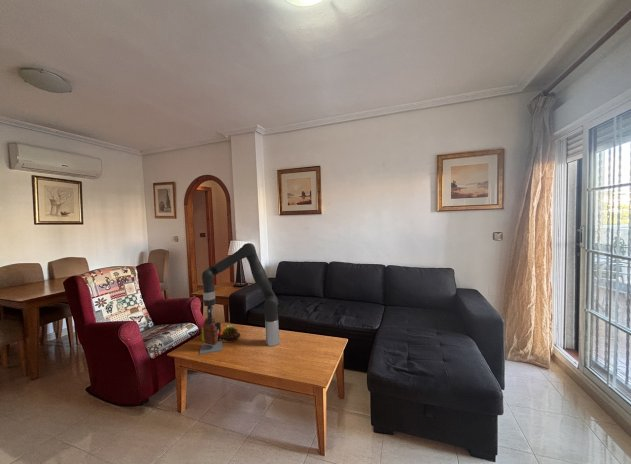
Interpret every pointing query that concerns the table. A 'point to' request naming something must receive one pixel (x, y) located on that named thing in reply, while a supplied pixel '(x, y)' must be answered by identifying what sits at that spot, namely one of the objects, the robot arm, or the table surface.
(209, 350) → the gray square panel
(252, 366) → the table surface
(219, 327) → the puzzle toy
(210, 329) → the wooden figurine
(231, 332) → the green-brown rounded mound
